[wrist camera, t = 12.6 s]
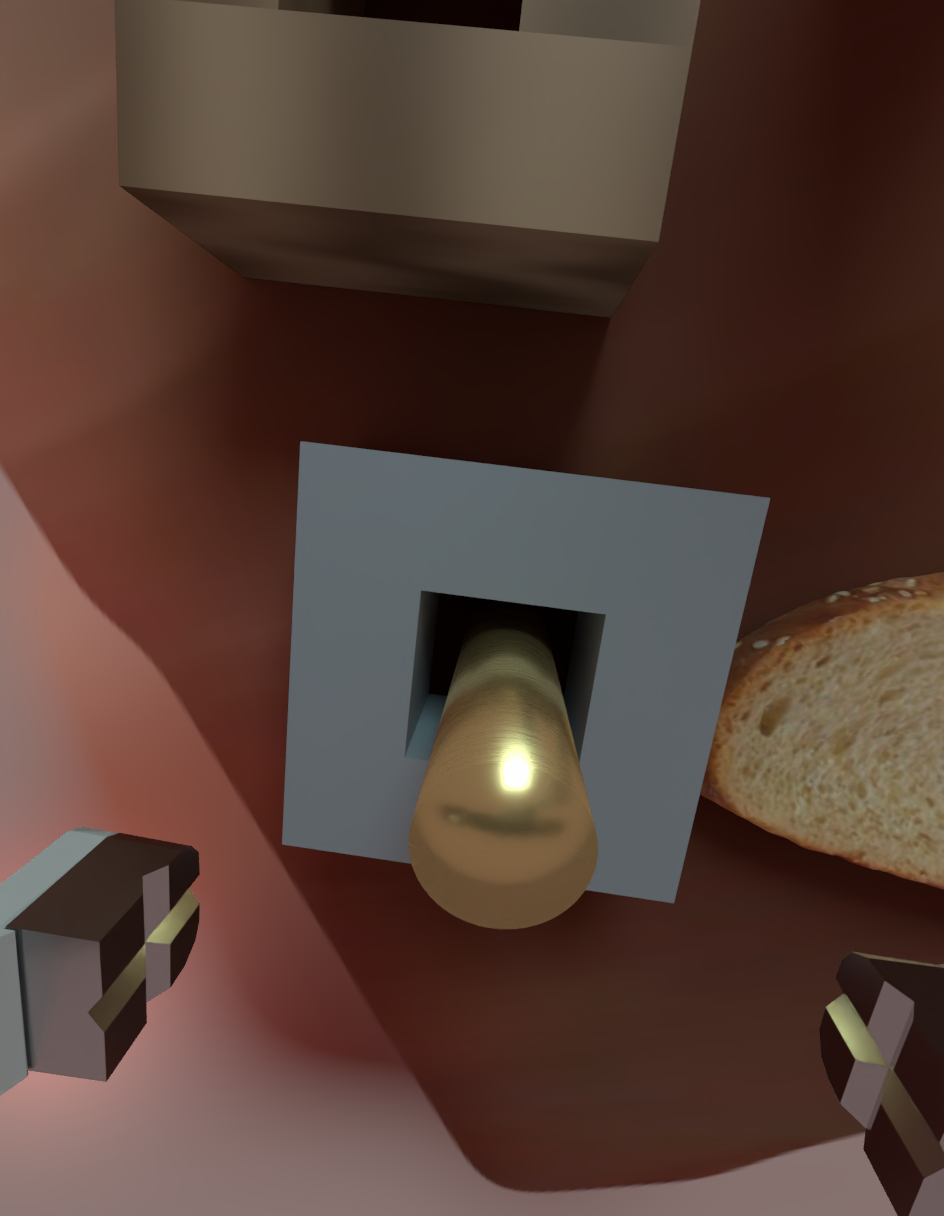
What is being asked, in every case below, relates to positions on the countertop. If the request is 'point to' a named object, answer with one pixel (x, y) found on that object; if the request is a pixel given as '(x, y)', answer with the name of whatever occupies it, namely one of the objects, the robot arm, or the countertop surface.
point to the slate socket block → (521, 573)
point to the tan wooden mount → (409, 143)
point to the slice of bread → (842, 728)
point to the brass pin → (504, 783)
